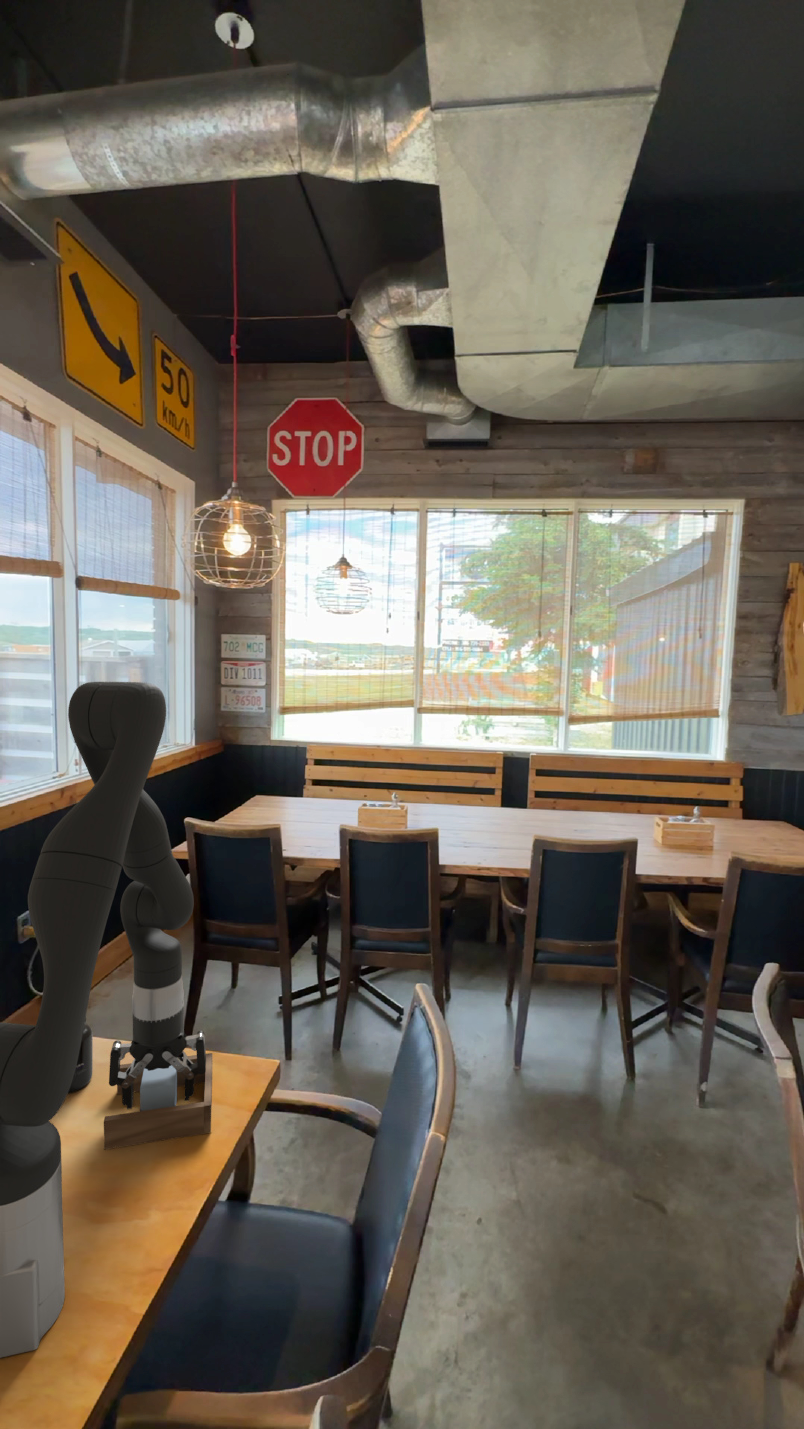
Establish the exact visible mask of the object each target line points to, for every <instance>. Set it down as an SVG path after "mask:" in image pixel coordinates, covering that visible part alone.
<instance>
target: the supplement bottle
mask: <svg viewBox="0 0 804 1429" xmlns="http://www.w3.org/2000/svg"><path fill="white" fill-rule="evenodd" d="M93 1037H94V1036H93V1029H92V1027H91V1025H90V1024H89V1023H87V1017H86V1018H85V1024H84V1029H83V1035H82V1041H81V1046H80V1051H79V1056H78V1061H77V1065H76V1069H75V1073H74V1076H73V1080H72V1083H71V1086H70V1089H69V1091H68V1094H72V1093H76V1092H78V1091H79V1090H81V1089H83V1088H84V1087H86V1086H87V1085H88V1084H89V1082H90V1081H91V1080H92V1077H93V1066H94V1065H93V1062H94V1060H93V1058H94V1057H93V1052H94V1051H93V1047H94V1046H93V1043H94V1042H93Z"/></svg>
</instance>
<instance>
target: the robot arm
mask: <svg viewBox="0 0 804 1429" xmlns="http://www.w3.org/2000/svg"><path fill="white" fill-rule="evenodd" d="M68 704H69V705H68V711H67V712H68V713H67V716H68V723H69V728H70V733H71V735H72V738H73V740H74V743H75V745H76V748H77V750H78V752H79V754H80V757H81V759H82V761H83V762H84V764H85V768H86V770H87V772H88V774H89V776H90V778H91V781H92V782H93V784H94V786H93V787H92V788H91V789H89V791H88V792H87V793H86V794H85V795H84V797H82V798H81V799H80V800H79V801H78V802H77V803H76V804H75V805H74V806H73V807H72V808H71V809H70V810H69V811H68V812H67V813H66V814H65V815H64V816H63V817H62V818H61V819H60V820H59V821H58V822H57V824H56V825H55V826H54V827H53V829H52V830H51V831H50V833H49V834H48V835H47V837H46V839H45V841H44V842H43V845H42V847H41V851H40V853H39V854H40V855H39V856H38V860H37V862H36V865H35V869H34V871H33V872H34V873H33V875H32V878H31V881H30V885H29V887H28V888H29V889H28V893H27V905H28V907H27V908H28V913H29V914H28V915H29V917H30V918H29V919H30V922H31V926H32V929H33V933H34V937H35V939H36V940H35V941H36V942H37V946H38V949H39V952H40V958H41V960H42V967H43V968H42V969H43V988H42V996H41V997H42V998H41V1002H40V1008H39V1013H38V1017H37V1019H36V1024H22V1023H10V1022H0V1359H1V1358H4V1357H6V1358H7V1357H9V1356H10V1357H11V1356H14V1355H18V1354H22V1353H27V1352H32V1351H35V1350H37V1349H38V1348H39V1346H40V1342H41V1340H42V1338H43V1337H44V1335H45V1334H46V1333H47V1332H48V1331H49V1329H50V1328H51V1327H53V1325H54V1324H55V1321H56V1320H57V1319H58V1318H59V1316H60V1314H61V1311H62V1310H63V1306H64V1304H65V1297H66V1296H65V1290H66V1289H65V1288H66V1287H65V1261H64V1260H65V1259H64V1258H65V1257H64V1219H63V1218H64V1216H63V1215H64V1214H63V1212H64V1210H63V1175H62V1174H63V1173H62V1172H63V1170H62V1168H63V1167H62V1142H61V1140H62V1139H61V1135H60V1133H59V1130H58V1128H57V1127H56V1126H55V1125H54V1123H52V1122H51V1121H50V1120H52V1119H53V1118H54V1117H55V1116H56V1114H57V1113H58V1111H59V1110H60V1109H61V1108H62V1106H63V1104H64V1103H65V1100H66V1098H67V1096H68V1094H69V1093H68V1091H69V1089H70V1086H71V1083H72V1080H73V1076H74V1073H75V1069H76V1065H77V1061H78V1056H79V1051H80V1046H81V1041H82V1035H83V1029H84V1024H85V1018H86V1019H87V1013H88V1005H89V1000H90V995H91V990H92V984H93V977H94V972H95V969H96V965H97V964H96V963H97V961H98V955H99V952H100V948H101V944H102V941H103V936H104V934H105V929H106V925H107V922H108V918H109V914H110V911H111V907H112V905H113V901H114V898H115V894H116V891H117V887H118V883H119V880H120V877H121V872H122V870H123V872H124V874H125V875H126V876H127V877H128V878H129V879H131V880H132V882H130V883H129V884H128V885H127V887H126V888H125V890H124V891H123V894H122V897H121V901H120V907H119V908H120V910H119V911H120V917H121V918H120V919H121V922H122V926H123V929H124V931H125V934H126V938H127V941H128V946H129V948H130V950H131V953H132V956H133V986H132V995H131V997H132V1002H131V1003H132V1005H131V1006H132V1040H131V1042H130V1043H127V1042H126V1043H122V1041H120V1040H119V1039H118V1040H114V1042H112V1043H113V1044H112V1047H111V1050H110V1055H109V1056H110V1057H109V1071H108V1072H109V1075H108V1085H109V1086H110V1087H115V1086H117V1085H120V1086H121V1087H122V1094H121V1099H122V1100H121V1101H122V1103H121V1104H122V1106H126V1110H132V1109H133V1104H134V1092H133V1081H134V1080H135V1078H137V1077H138V1076H139V1075H140V1073H141V1072H142V1071H143V1069H144V1068H145V1069H148V1071H151V1070H155V1069H158V1068H161V1069H166V1068H169V1066H171V1065H172V1066H173V1067H174V1068H175V1069H176V1070H177V1071H178V1072H181V1073H182V1074H183V1075H184V1076H185V1085H184V1102H186V1101H190V1098H191V1097H193V1096H194V1094H195V1084H194V1077H195V1076H196V1075H198V1074H204V1073H205V1072H206V1054H207V1053H206V1041H205V1040H206V1039H205V1032H204V1031H203V1030H198V1031H197V1032H196V1034H194V1035H193V1034H192V1035H187V1034H186V1033H185V1030H184V1029H185V1022H184V1021H185V1020H184V1018H185V1017H184V1016H185V1008H184V1007H185V1003H184V1002H185V1001H184V1000H185V991H184V982H183V967H182V966H183V959H182V958H183V952H182V951H183V950H182V944H181V943H180V940H179V939H178V938H175V937H174V936H172V935H169V934H168V933H165V932H164V930H167V931H173V930H174V931H175V930H178V929H180V928H182V927H183V926H185V925H186V924H187V923H188V922H189V920H190V919H191V916H192V915H193V912H194V911H193V910H194V907H195V906H194V905H195V903H194V901H195V900H194V898H195V897H194V893H193V890H192V886H191V884H190V882H189V880H188V879H187V877H186V875H185V874H184V872H183V870H182V868H181V866H180V864H179V862H178V861H177V860H176V858H175V857H174V854H173V852H172V846H171V841H170V836H169V832H168V828H167V826H168V825H167V823H166V819H165V818H164V815H163V814H162V812H161V809H160V808H159V806H158V805H157V804H156V802H155V800H153V799H152V798H151V796H150V795H149V794H148V793H147V792H146V791H145V790H144V787H145V784H146V782H147V778H148V775H149V773H150V770H151V767H152V765H153V762H154V760H155V757H156V754H157V753H158V752H157V751H158V748H159V746H160V743H161V740H162V737H163V733H164V730H165V723H166V719H167V718H166V717H167V702H166V699H165V696H164V693H163V691H162V690H161V689H160V688H159V687H158V685H155V684H152V683H149V682H141V681H139V682H138V681H132V682H131V681H90V682H89V681H88V682H86V683H83V684H80V685H79V686H78V687H77V688H76V689H75V690H74V692H73V693H72V695H71V697H70V699H69V703H68ZM187 1046H189V1047H190V1048H191V1050H192V1051H194V1052H196V1055H197V1062H196V1063H194V1064H193V1063H192V1061H191V1060H190V1059H189V1058H188V1057H187V1056H188V1055H187V1053H186V1052H185V1050H186V1047H187ZM128 1053H129V1055H130V1056H131V1057H132V1058H133V1060H132V1062H131V1063H132V1064H131V1066H130V1067H129V1068H128V1069H127V1071H126V1072H125V1073H124V1072H120V1065H121V1061H123V1060H124V1059H125V1057H126V1054H128Z"/></svg>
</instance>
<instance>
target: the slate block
mask: <svg viewBox="0 0 804 1429" xmlns="http://www.w3.org/2000/svg"><path fill="white" fill-rule="evenodd" d="M139 1094H140V1096H139V1101H140V1103H139V1106H140V1107H139V1108H140V1110H139V1111H145V1110H152V1109H158V1108H165V1107H172V1106H177V1100H178V1086H177V1070H176V1069H175V1068H174V1067H173V1066H172V1065H171V1066H169V1068H166V1069H161V1068H158V1069H155V1070H151V1071H148V1069H144V1072H143V1077H142V1082H141V1087H140V1091H139Z"/></svg>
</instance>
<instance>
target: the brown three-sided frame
mask: <svg viewBox="0 0 804 1429" xmlns="http://www.w3.org/2000/svg"><path fill="white" fill-rule="evenodd" d="M187 1057H188V1058H189V1059H190V1060H191V1061H192V1063H193V1064H194V1063H196V1062H197V1054H193V1055H187ZM131 1064H132V1062H131V1063H125V1064H124V1063H122V1064H120V1072H124V1073H125V1072H126V1071H127V1069H128V1068H129V1067H130V1066H131ZM144 1069H145V1068H144ZM144 1069H143V1071H142V1072H141V1073H140V1075H139V1076H138V1077H137V1078H135V1080H134V1081H133V1093H136V1092H137V1093H140V1087H141V1082H142V1077H143V1072H144ZM202 1083H204V1094H203V1097H204V1098H203V1101H201V1102H194V1103H188V1104H180V1105H176V1106H172V1107H165V1108H158V1109H152V1110H145V1111H140V1110H138V1111H134V1112H133V1111H132V1112H125V1113H119V1114H113V1115H105V1116H104V1119H103V1150H109V1149H111V1150H112V1149H117V1148H122V1147H129V1146H134V1145H142V1144H146V1143H147V1144H148V1143H155V1142H160V1141H169V1140H172V1139H174V1140H175V1139H179V1138H185V1137H193V1136H197V1135H205V1134H210V1133H212V1108H213V1107H212V1104H213V1102H212V1100H213V1096H212V1095H213V1052H209V1053H206V1072H205V1073H204V1074H198V1075H196V1076H195V1077H194V1085H195V1084H202ZM181 1086H185V1076H184V1075H183V1074H182V1073H181V1072H178V1071H177V1087H181ZM116 1088H117V1089H116V1094H117V1095H122V1087H121V1086H120V1085H116Z"/></svg>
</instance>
